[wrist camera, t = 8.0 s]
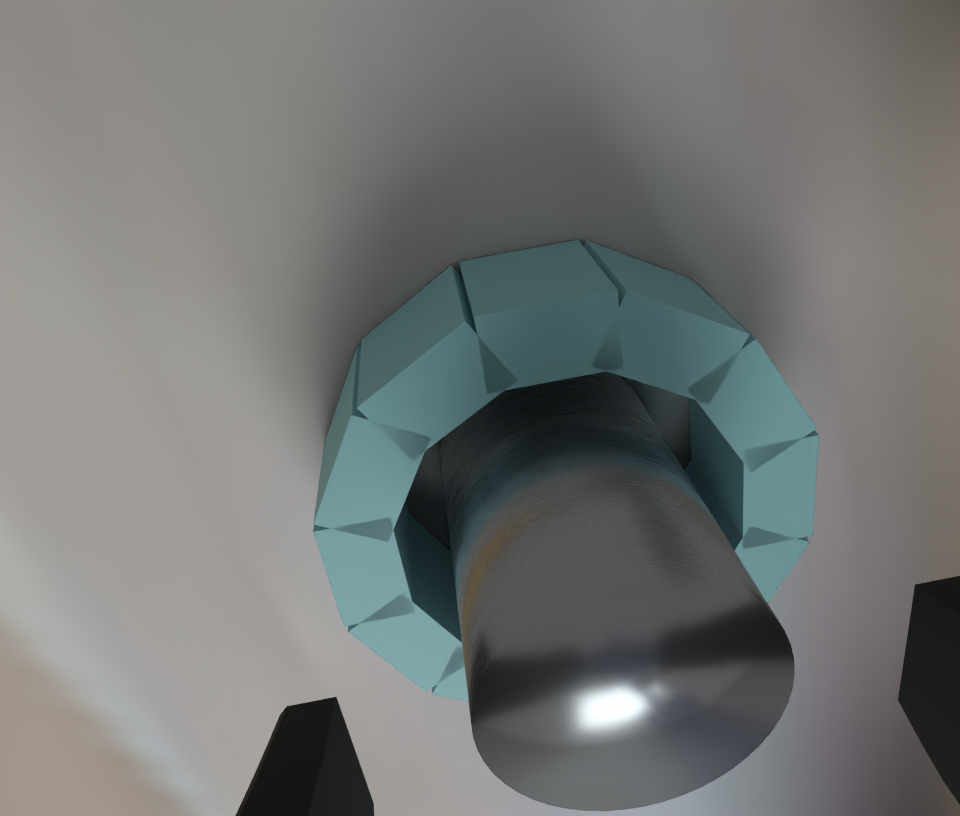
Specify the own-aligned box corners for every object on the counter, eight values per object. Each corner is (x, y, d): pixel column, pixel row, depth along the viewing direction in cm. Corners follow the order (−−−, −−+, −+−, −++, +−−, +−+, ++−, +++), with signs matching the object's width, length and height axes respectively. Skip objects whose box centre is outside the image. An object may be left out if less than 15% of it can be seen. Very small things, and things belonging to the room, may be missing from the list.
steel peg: (653, 515, 16) (788, 777, 10) (460, 552, 16) (496, 836, 10) (643, 336, 14) (801, 546, 9) (422, 377, 14) (444, 615, 8)
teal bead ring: (749, 574, 17) (803, 661, 14) (382, 645, 17) (382, 745, 14) (755, 207, 13) (830, 250, 11) (279, 295, 13) (256, 357, 10)
